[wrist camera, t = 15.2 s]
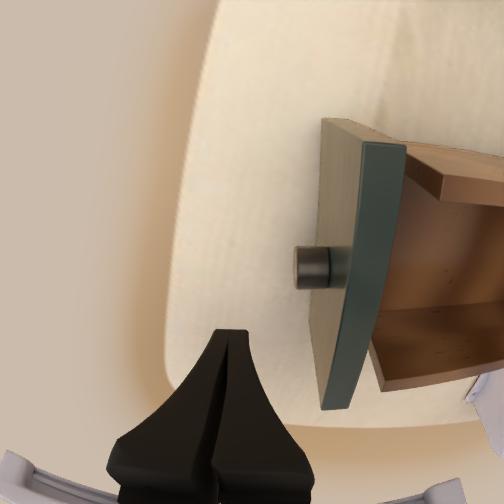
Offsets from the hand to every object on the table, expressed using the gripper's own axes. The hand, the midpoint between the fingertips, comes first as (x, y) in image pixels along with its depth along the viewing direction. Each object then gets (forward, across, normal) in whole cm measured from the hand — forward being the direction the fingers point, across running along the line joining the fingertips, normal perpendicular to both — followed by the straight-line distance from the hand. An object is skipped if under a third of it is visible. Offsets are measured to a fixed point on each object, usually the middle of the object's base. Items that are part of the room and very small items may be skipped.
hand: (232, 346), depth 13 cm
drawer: (+3, -10, -4) cm, 11 cm away
